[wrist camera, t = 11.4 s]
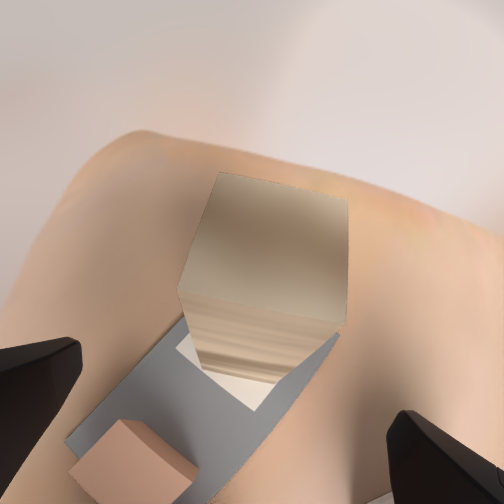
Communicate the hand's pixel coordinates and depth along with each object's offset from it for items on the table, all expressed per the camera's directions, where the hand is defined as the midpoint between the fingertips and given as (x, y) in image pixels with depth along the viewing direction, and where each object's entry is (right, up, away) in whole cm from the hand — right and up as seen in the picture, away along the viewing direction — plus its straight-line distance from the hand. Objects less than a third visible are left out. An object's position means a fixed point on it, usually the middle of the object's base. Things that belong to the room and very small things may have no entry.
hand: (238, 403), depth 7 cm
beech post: (0, -3, +14) cm, 14 cm away
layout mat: (-3, -6, +12) cm, 14 cm away
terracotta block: (-7, -10, +8) cm, 15 cm away
